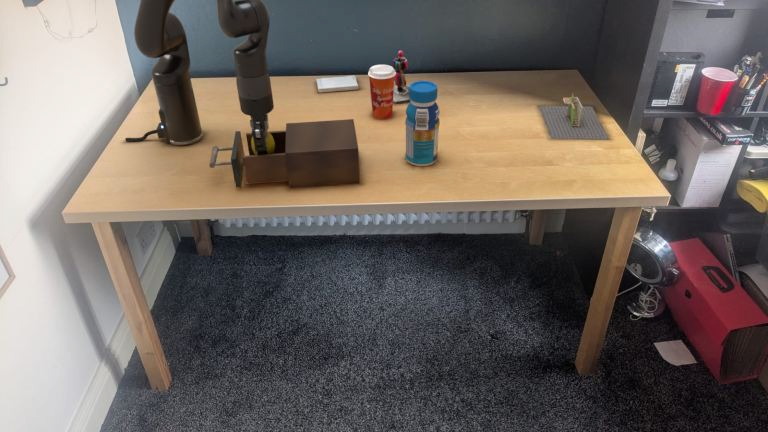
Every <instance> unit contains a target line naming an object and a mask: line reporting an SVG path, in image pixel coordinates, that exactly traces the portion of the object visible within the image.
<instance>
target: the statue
mask: <svg viewBox="0 0 768 432" xmlns="http://www.w3.org/2000/svg"><path fill="white" fill-rule="evenodd" d="M397 56H398V57H395V58H394V59H393V61H392V65H393V66H392V67H393V68H394V69H395V72H396V74H395V76H394V92H393V105H396V104H397V105H398V104H405V103H410V99H409V86H410V84H409V85H407V80H406V75H405V72H404V70H408V68H409V59H408V58H406V57H405V56H404V51H403V50H399V51H398V52H397Z"/></svg>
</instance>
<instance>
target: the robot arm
mask: <svg viewBox="0 0 768 432" xmlns="http://www.w3.org/2000/svg"><path fill="white" fill-rule="evenodd" d="M175 1H176V0H140V2H139V7H138V11H137V15H136V19H135V23H134V29H133V36H134V42H135V45H136V47H137V50H138V51H139V52H140V54H141V55H143V56H144V57H146V58H148V59H157V61H156V62H155V64H154V65H153V67H152V68H151V71H150V73H151V79H152V82H153V87H154V91H155V95H156V99H157V103H158V106H159V109H158V116H159V120H160V122H159V123H158V124H157V127H156V129H152V130H149V131H147V132H145V133H144V135H143V136H141V137H125V138H124V139H125V140H124V141H126V142H142V141H144V140H146V139H147V138H148V137H149V136H151V135H154V134H157V137H158V139H164V140H165V143H166V144H168V145H169V144H171V145H173V146H189V145H191V144H192V145H193V144H195V143H197V142H199V141H200V140H202V138H203V137H204V132H203V129H202V125H201V121H200V115H199V111H198V106H197V101H196V97H195V92H194V88H193V84H192V79H191V74H190V68H191V58H190V51H189V45H188V39H187V34H186V30H185V28H184V25H183V23H182V22H181V20H180V19H179V17H177V16H176V15H175V14H174V13H172V12H170V10H171V8H172V6H173V5H174V3H175ZM215 1H216V11H217V12H216V13H217V22H218V25H219V29H220V30H221V31H222V33H223V34H224V35H225V36H226V37H228V38H230V39H238V38H242V37H246V36H247V37H246V39H245V40H244V41H243V42H241V43H240V44H239V43H238V45H236V46H235V47H234V48H233V50H232V57H233V65H234V69H235V75H236V76H235V78H236V79H235V82H236V90H237V95H238V101H239V107H240V112H241V113H243V114H244V115H246V116H249V117H250V119H249V126H250V128H251V133H252V135H253V140H254V145H255V151H257V152H258V155H264V154H268V153H267V143H266V139H267V138H268V132H269V129H270V124H269V114H270V113H271V112H272V111H273V109H274V107H275V105H274V96H273V90H272V81H271V77H270V73H269V67H268V61H267V45H268V36H269V32H270V31H269V30H270V23H271V22H270V18H271V17H270V11H269V9H268V6H267V5H266V4H265V2H264V1H263V0H235V1H234V0H215ZM264 133H265V135H264ZM258 143H262V144H258Z"/></svg>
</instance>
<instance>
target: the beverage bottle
mask: <svg viewBox="0 0 768 432" xmlns="http://www.w3.org/2000/svg"><path fill="white" fill-rule="evenodd" d="M409 85H410V86H409V99H410V101H409V102H408V104H407V105H406V109H405V115H406V117H405V121H404V125H405V160H406V162H408V163H409V164H411V165H413V166H417V167H428V166H432V165H433V164H434V163H436V162H437V160H438V154H439V153H438V149H439V133H440V132H439V131H440V130H439V129H440V124H441V122H440V118H439V116H440V113H441V112H440V108H439V105H438V103H437V102H436V101H437V99H438V85H437V84H436V83H435V82H432V81H430V80H417V81H413V82H411V83H410V84H409Z"/></svg>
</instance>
